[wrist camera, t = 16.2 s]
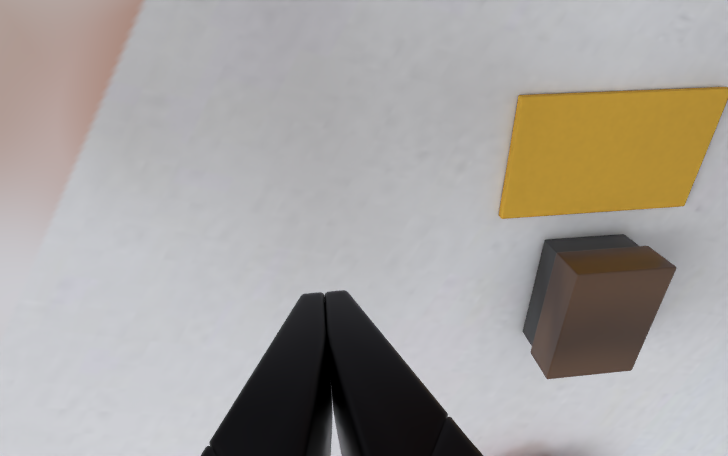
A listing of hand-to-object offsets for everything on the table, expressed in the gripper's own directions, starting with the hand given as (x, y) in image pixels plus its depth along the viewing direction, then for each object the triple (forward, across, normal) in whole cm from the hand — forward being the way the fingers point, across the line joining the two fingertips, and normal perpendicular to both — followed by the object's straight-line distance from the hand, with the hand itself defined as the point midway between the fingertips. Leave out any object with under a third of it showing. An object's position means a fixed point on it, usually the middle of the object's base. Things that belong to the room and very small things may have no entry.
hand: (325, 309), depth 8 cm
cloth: (+12, -14, +2) cm, 18 cm away
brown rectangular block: (+12, -14, +10) cm, 21 cm away
